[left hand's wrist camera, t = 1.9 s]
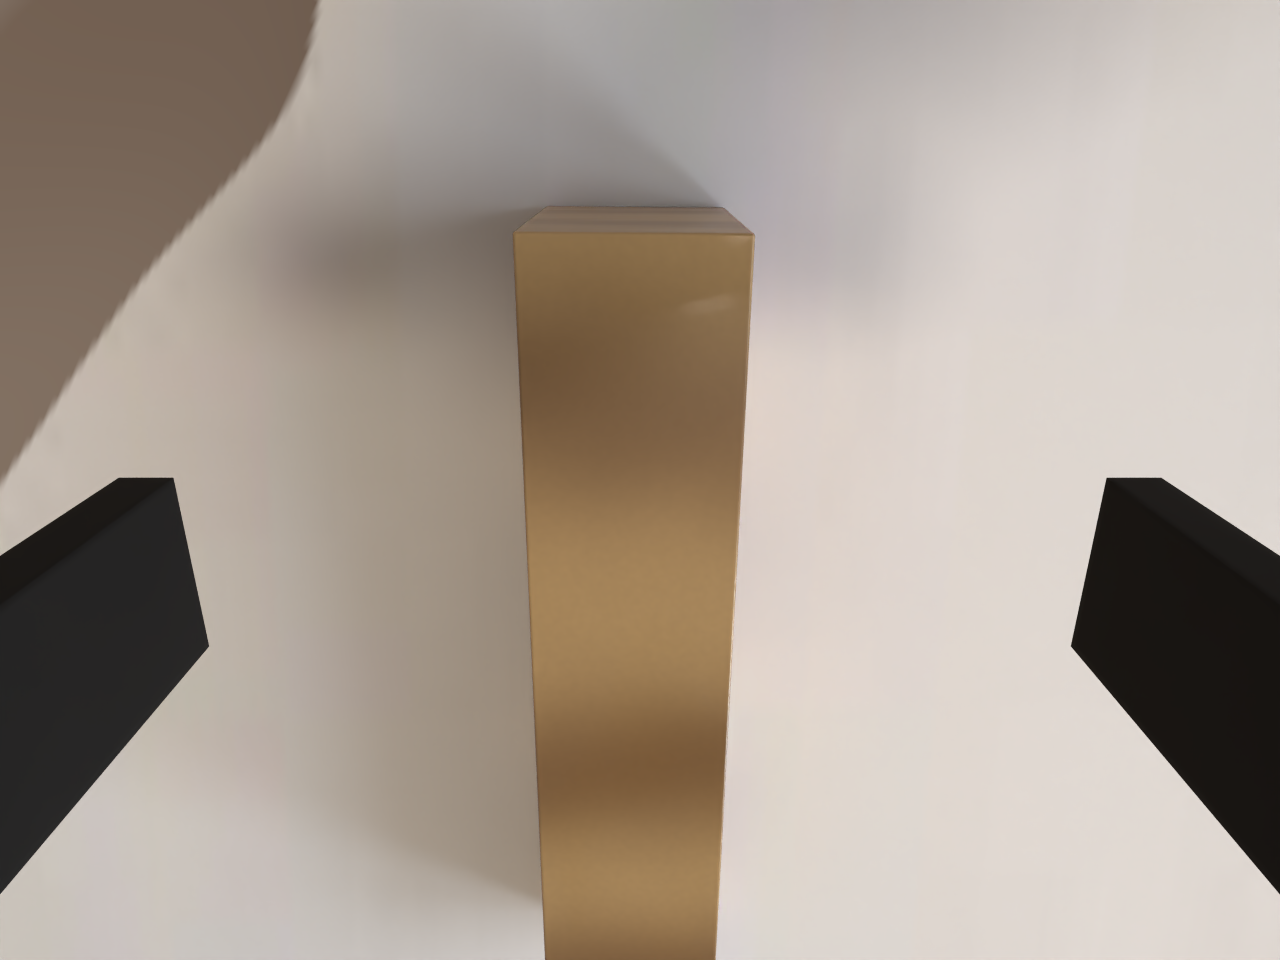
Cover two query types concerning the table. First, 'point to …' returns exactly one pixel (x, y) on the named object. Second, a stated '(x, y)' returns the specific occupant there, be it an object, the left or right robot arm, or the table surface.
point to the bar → (632, 562)
